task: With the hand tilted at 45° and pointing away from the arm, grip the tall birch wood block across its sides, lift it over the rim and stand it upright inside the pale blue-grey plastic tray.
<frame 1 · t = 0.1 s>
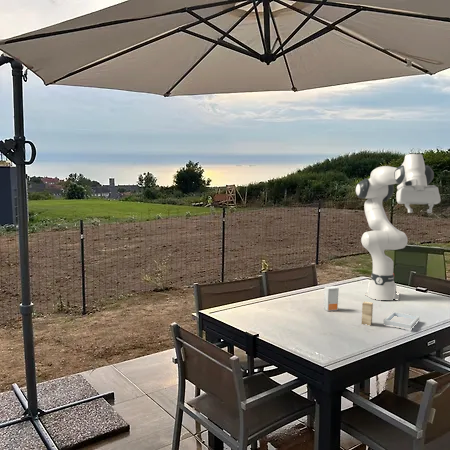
hand: (420, 212, 198), 52 cm above the table, tool tilted 20°, fingers open, 8 cm apart
tray: (401, 323, 196), on the table
birch block: (366, 323, 196), on the table
skincare box: (330, 310, 217), on the table
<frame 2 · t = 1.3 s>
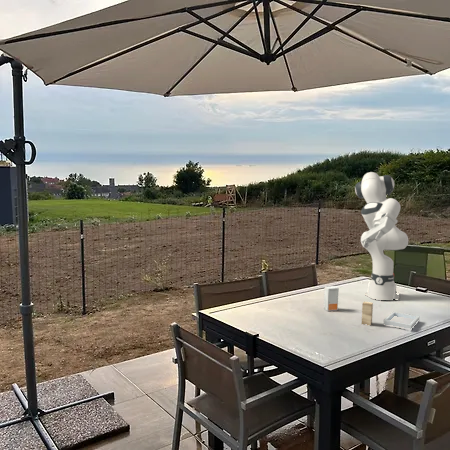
hand: (370, 243, 197), 37 cm above the table, tool tilted 50°, fingers open, 8 cm apart
nothing on the table moved.
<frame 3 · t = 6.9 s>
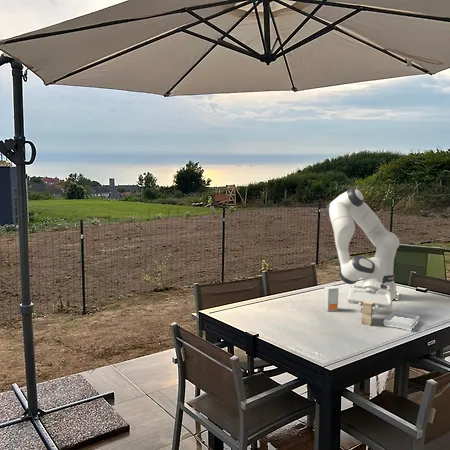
hand: (367, 313, 195), 5 cm above the table, tool tilted 45°, fingers closed on birch block, 4 cm apart
birch block: (366, 323, 196), on the table, touching gripper
everything else where it was.
when the fingers open (8 cm above the table, at t = 13.8 s): birch block drops 2 cm, resting on tray.
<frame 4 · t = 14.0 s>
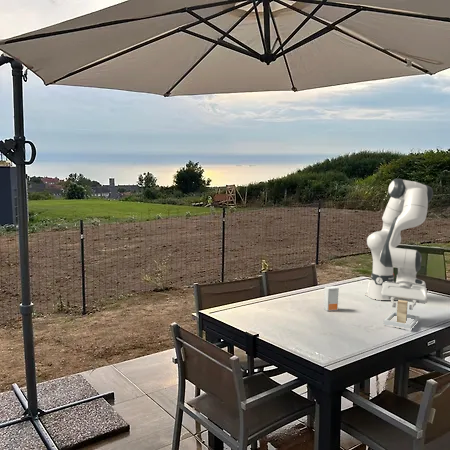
hand: (402, 308, 195), 8 cm above the table, tool tilted 45°, fingers open, 6 cm apart
birch block: (401, 322, 196), point 1 cm above the table, touching tray
everything else where it was.
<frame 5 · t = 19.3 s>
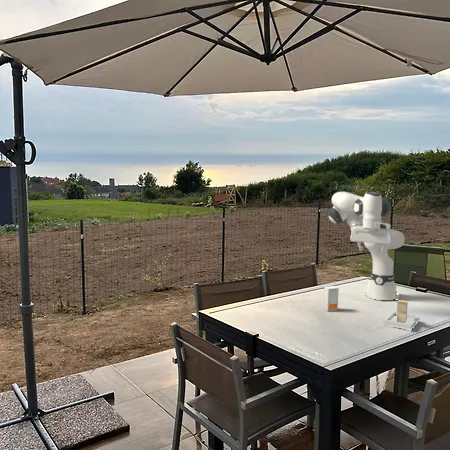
hand: (370, 251, 213), 31 cm above the table, tool pointing down, fingers open, 8 cm apart
nothing on the table moved.
at the end: birch block inside the target area on the tray (0.0 cm from its centre), point 0.8 cm above the tray's base; birch block tilted 0°; the gripper is holding nothing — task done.
